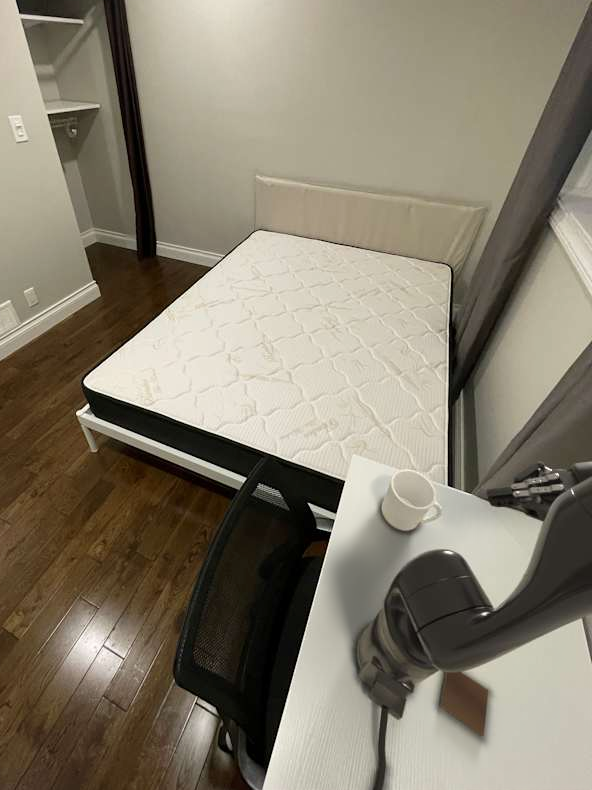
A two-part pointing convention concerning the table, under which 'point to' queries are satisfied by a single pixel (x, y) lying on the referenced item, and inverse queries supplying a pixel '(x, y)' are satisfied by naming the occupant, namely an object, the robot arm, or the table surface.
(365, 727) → the table surface
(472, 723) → the coaster
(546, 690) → the table surface
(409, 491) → the mug
